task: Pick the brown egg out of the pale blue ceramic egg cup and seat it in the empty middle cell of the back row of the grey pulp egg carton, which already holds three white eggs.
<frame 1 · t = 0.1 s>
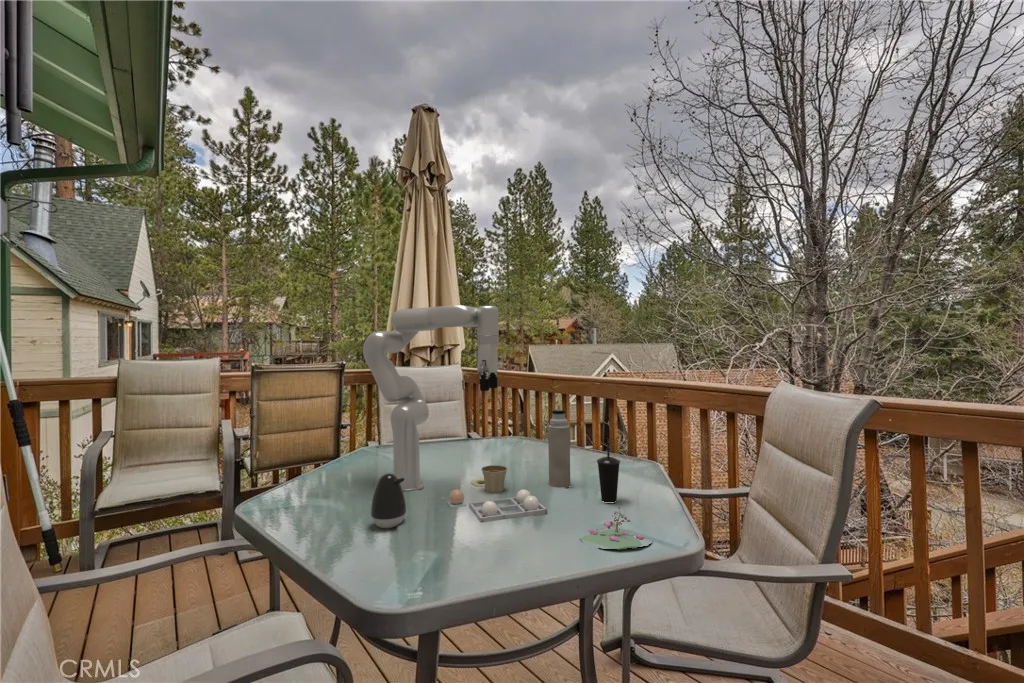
hand: (488, 389, 167), 37 cm above the table, tool pointing down, fingers open, 9 cm apart
flower pot: (494, 493, 169), on the table
white egg 3: (523, 504, 154), point 1 cm above the table, touching carton
penguin figurine: (389, 525, 139), on the table
thermos bottle: (559, 486, 176), on the table
plant: (614, 535, 132), on the table
brown egg: (456, 504, 154), point 1 cm above the table, touching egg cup
carton: (507, 512, 148), on the table
drinking cup: (609, 502, 157), on the table
white egg 2: (531, 511, 147), point 1 cm above the table, touching carton
white egg 1: (489, 516, 143), point 1 cm above the table, touching carton
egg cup: (456, 507, 154), on the table
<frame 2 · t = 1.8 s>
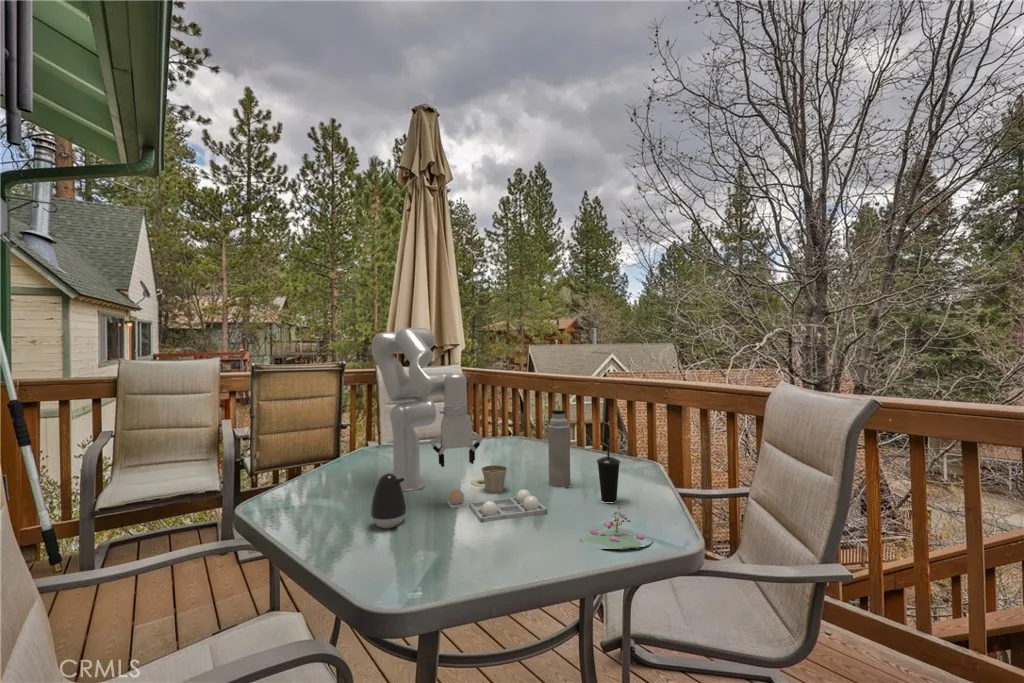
hand: (457, 464, 154), 14 cm above the table, tool pointing down, fingers open, 9 cm apart
nothing on the table moved.
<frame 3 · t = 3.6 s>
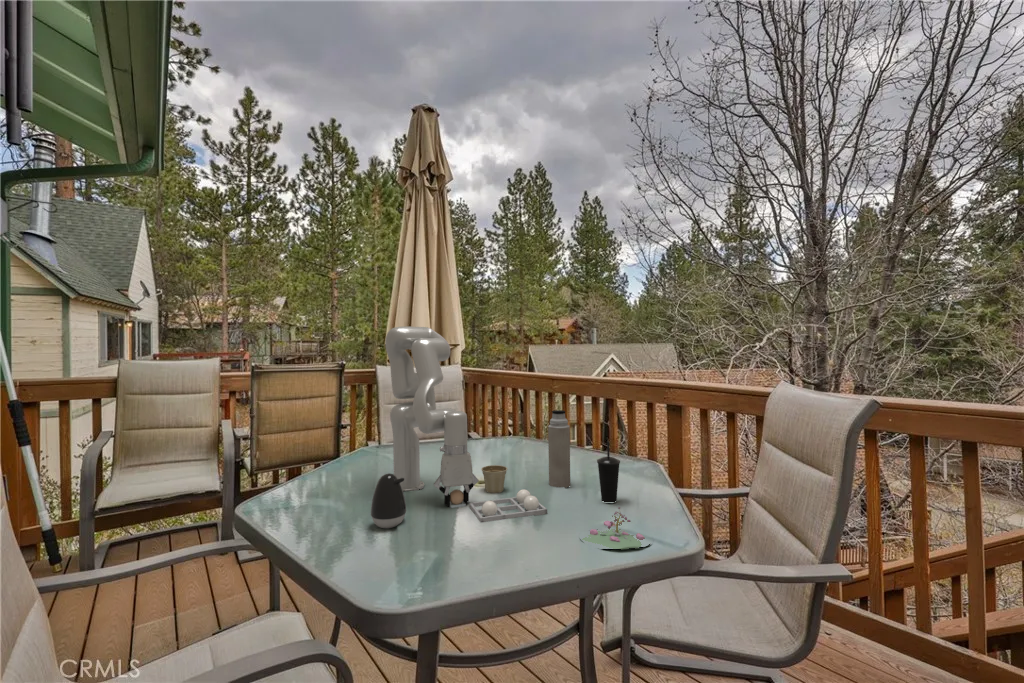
hand: (456, 504, 154), 1 cm above the table, tool pointing down, fingers closed on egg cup, 5 cm apart
nothing on the table moved.
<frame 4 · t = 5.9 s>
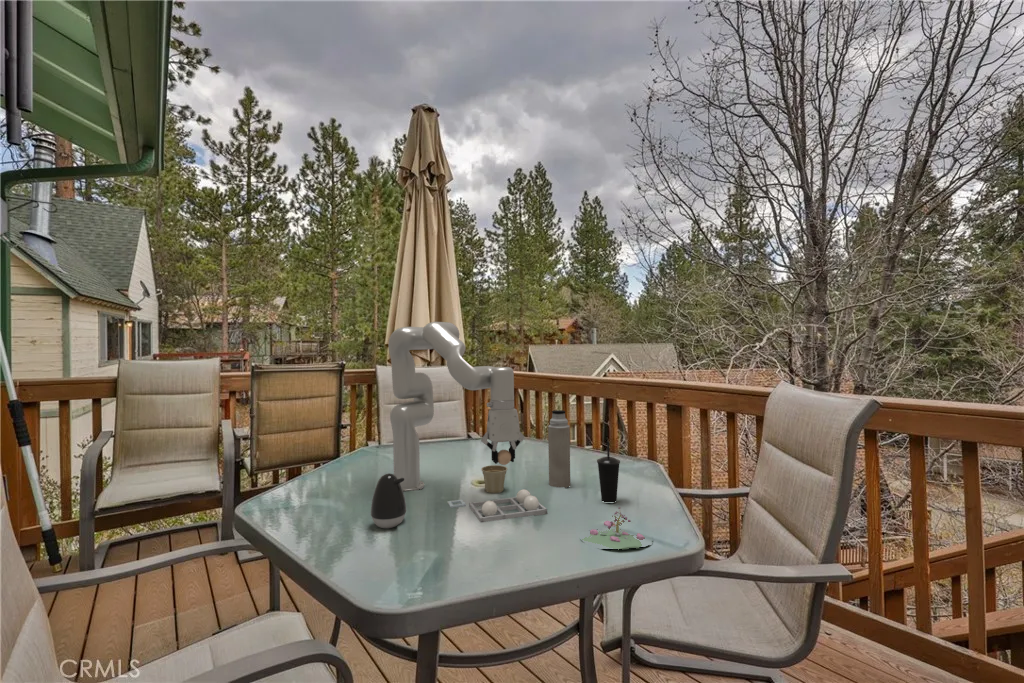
hand: (503, 461, 152), 15 cm above the table, tool pointing down, fingers closed on brown egg, 4 cm apart
brown egg: (504, 464, 151), point 14 cm above the table, tilted 5°, touching gripper
everything else where it was.
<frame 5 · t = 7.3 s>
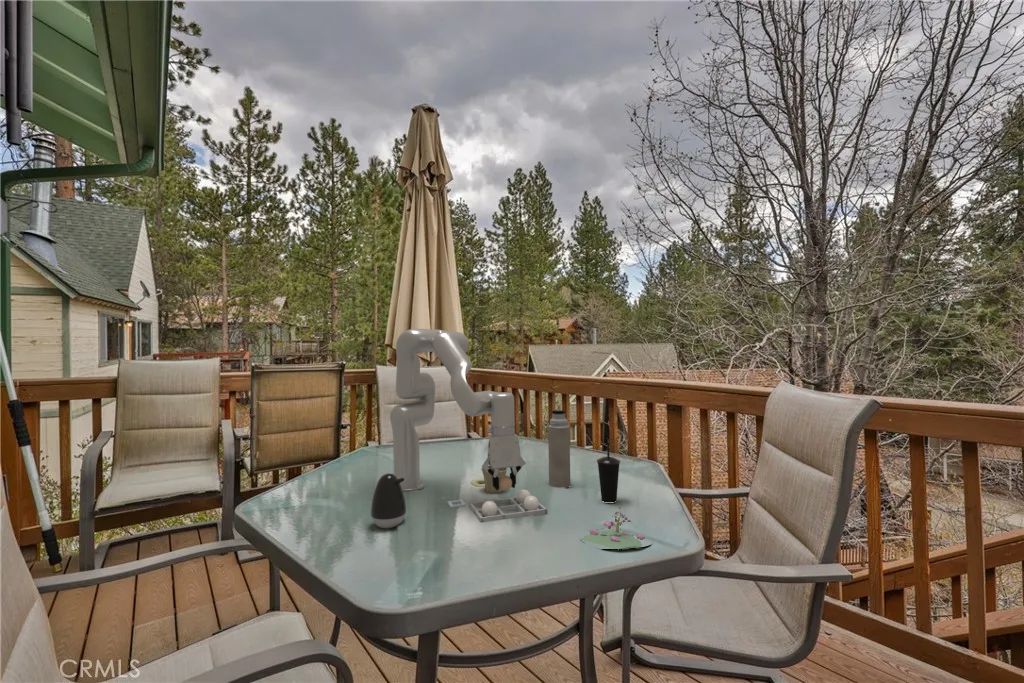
hand: (504, 487, 152), 7 cm above the table, tool pointing down, fingers closed on brown egg, 4 cm apart
brown egg: (505, 490, 151), point 6 cm above the table, tilted 5°, touching gripper
everything else where it was.
when the fingers open (3 cm above the table, at t = 8.5 s): brown egg drops 1 cm, resting on carton.
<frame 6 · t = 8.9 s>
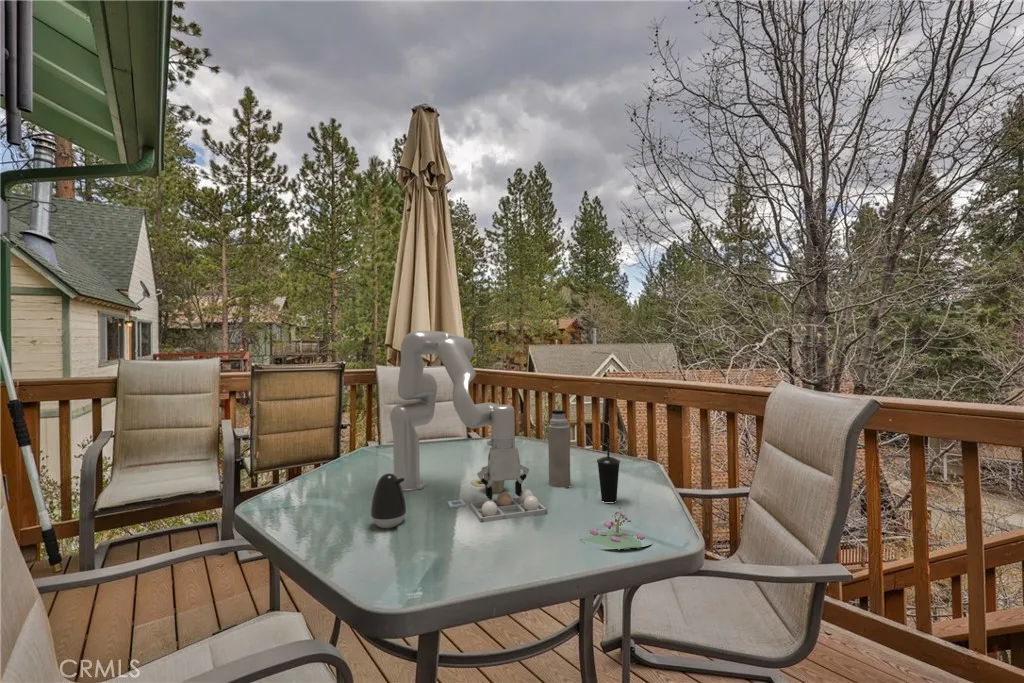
hand: (503, 496, 152), 4 cm above the table, tool pointing down, fingers open, 9 cm apart
white egg 3: (523, 503, 154), point 1 cm above the table, tilted 19°, touching carton
brown egg: (505, 507, 151), point 1 cm above the table, touching carton
everything else where it was.
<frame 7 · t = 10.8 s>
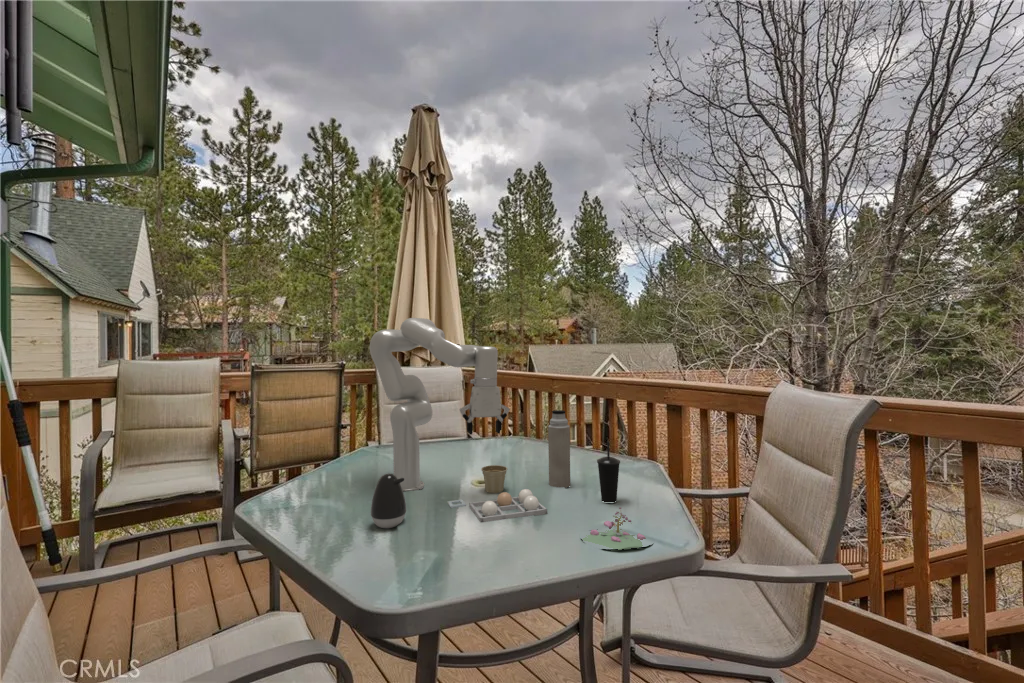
hand: (484, 433, 160), 23 cm above the table, tool pointing down, fingers open, 9 cm apart
nothing on the table moved.
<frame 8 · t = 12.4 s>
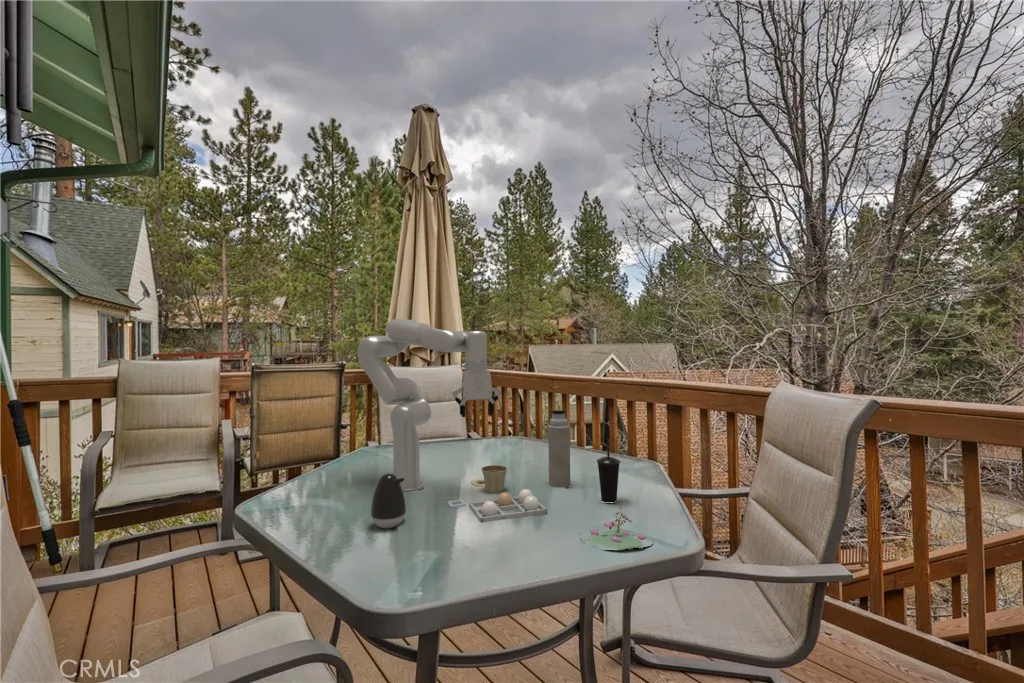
hand: (476, 415, 164), 28 cm above the table, tool pointing down, fingers open, 9 cm apart
nothing on the table moved.
at the end: brown egg 0.6 cm from the target spot on the carton, point 0.6 cm above the carton's base; the gripper is holding nothing; white egg 3 0.0 cm from the target spot on the carton, point 0.7 cm above the carton's base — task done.
